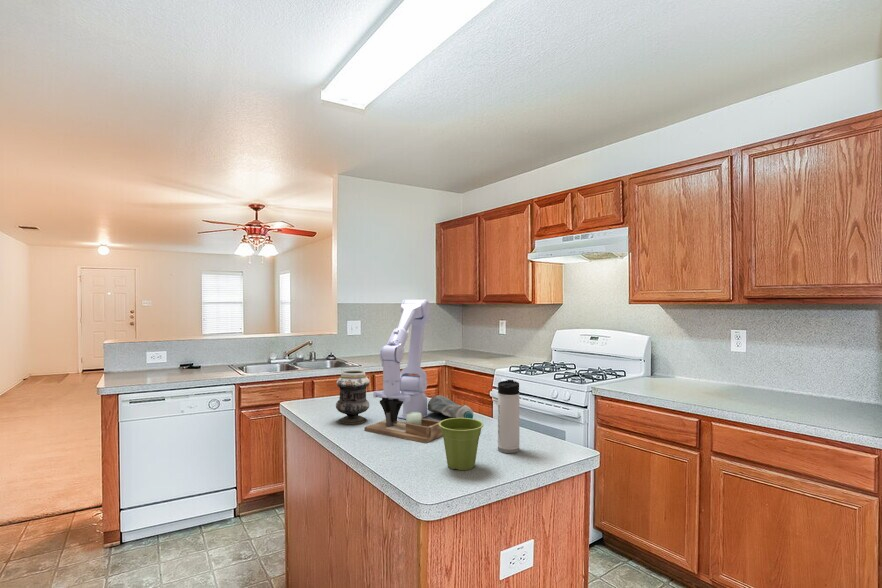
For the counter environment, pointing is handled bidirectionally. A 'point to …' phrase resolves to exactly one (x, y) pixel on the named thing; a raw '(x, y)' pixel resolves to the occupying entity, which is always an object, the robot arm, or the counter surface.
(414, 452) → the counter surface
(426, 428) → the shelf lane
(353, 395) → the dark footed vase
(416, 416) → the grey-headed mallet
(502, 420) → the travel mug
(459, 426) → the plant pot
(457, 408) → the detergent
